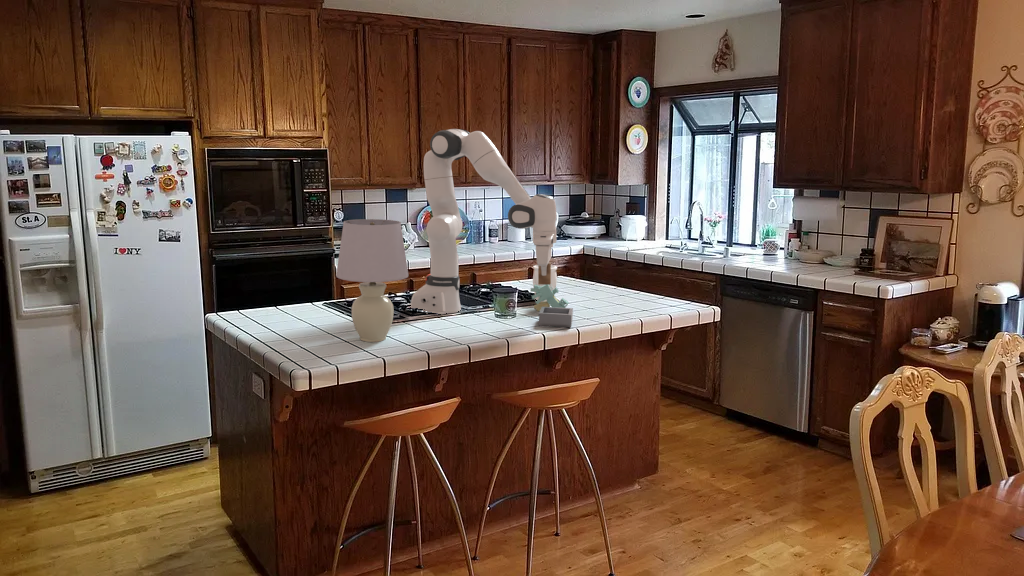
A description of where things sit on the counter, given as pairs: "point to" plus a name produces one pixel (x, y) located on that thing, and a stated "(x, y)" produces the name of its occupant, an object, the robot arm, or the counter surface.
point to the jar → (553, 278)
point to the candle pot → (555, 317)
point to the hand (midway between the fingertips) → (544, 274)
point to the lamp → (372, 271)
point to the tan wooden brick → (544, 279)
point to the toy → (547, 297)
